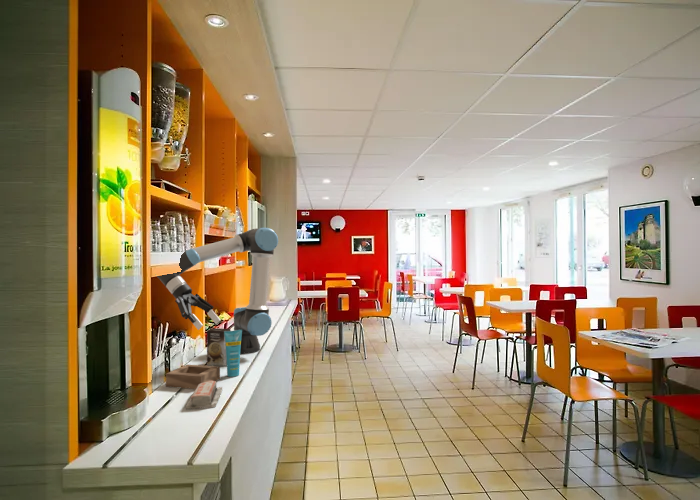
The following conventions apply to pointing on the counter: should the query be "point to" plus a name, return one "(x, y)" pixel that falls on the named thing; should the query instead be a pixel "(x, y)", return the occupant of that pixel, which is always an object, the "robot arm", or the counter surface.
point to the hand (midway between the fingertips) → (210, 324)
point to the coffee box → (216, 347)
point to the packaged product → (205, 396)
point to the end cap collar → (192, 376)
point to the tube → (233, 351)
